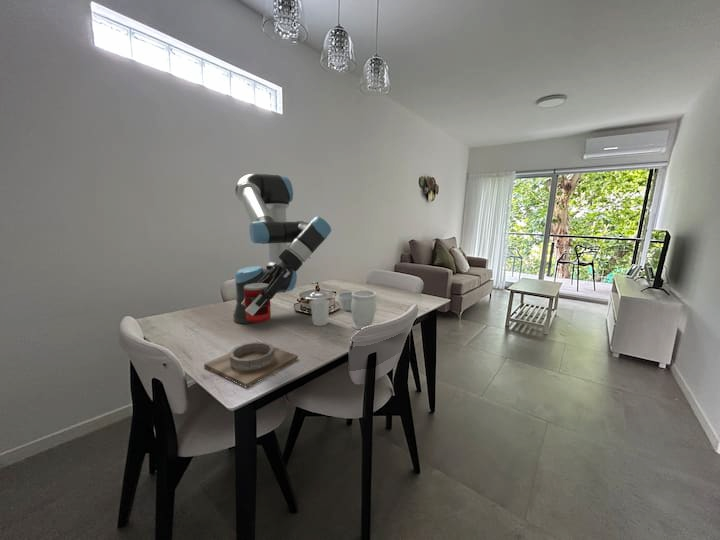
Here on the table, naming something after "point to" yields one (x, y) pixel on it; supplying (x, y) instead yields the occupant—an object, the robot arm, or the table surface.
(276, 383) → the table surface
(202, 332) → the table surface
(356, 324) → the jar
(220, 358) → the cup holder
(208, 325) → the table surface
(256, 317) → the canned food
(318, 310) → the white cup
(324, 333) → the table surface
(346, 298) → the ramekin
